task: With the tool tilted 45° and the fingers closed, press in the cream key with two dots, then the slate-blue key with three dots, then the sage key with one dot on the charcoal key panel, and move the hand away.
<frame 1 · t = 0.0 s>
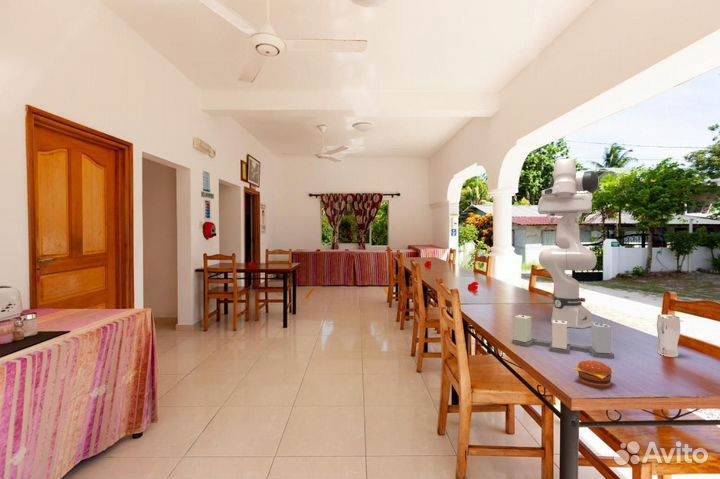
hand: (563, 222, 154), 52 cm above the table, tool tilted 20°, fingers open, 8 cm apart
key three dots: (601, 337, 141), point 7 cm above the table, slide at 0.0 cm
hamburger: (593, 383, 117), on the table
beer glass: (668, 355, 141), on the table
key two dots: (559, 333, 147), point 7 cm above the table, slide at 0.0 cm
key one dot: (522, 327, 156), point 7 cm above the table, slide at 0.0 cm
key board: (559, 350, 147), on the table
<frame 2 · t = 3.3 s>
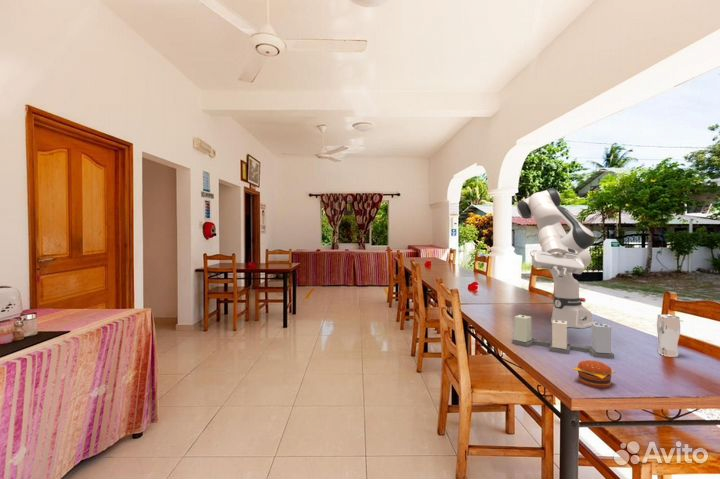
hand: (561, 276, 148), 30 cm above the table, tool tilted 50°, fingers closed
nothing on the table moved.
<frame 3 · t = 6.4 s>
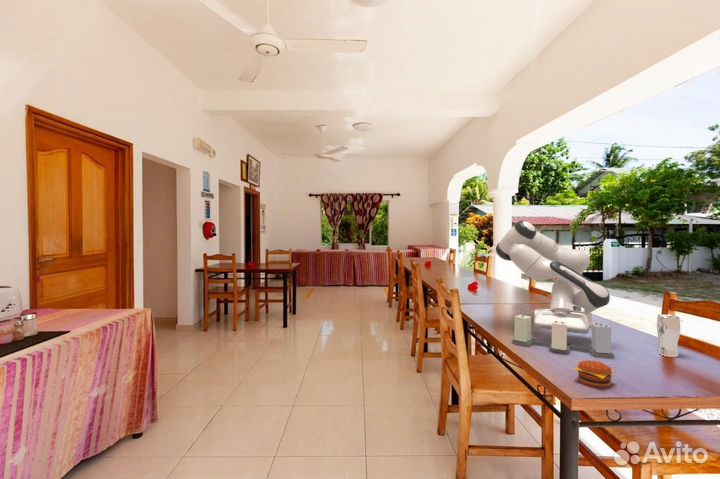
hand: (559, 339, 148), 4 cm above the table, tool tilted 45°, fingers closed, pressing on key two dots
key two dots: (559, 334, 146), point 7 cm above the table, slide at 1.5 cm, touching gripper
everything else where it was.
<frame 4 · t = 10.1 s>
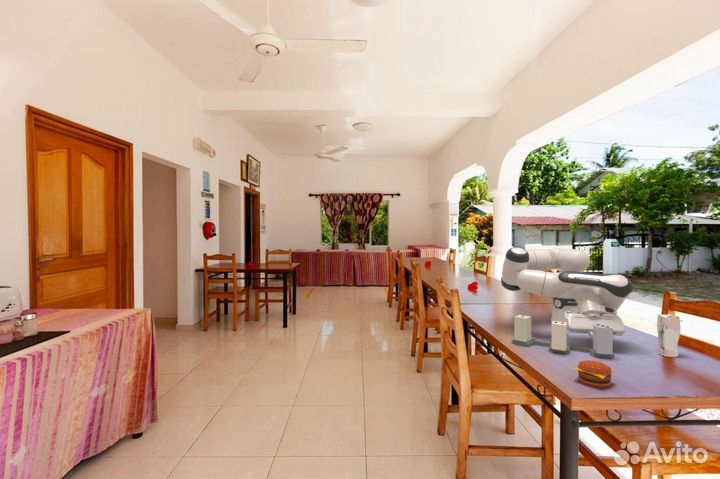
hand: (599, 342, 143), 4 cm above the table, tool tilted 45°, fingers closed, pressing on key three dots
key three dots: (602, 338, 140), point 7 cm above the table, slide at 1.5 cm, touching gripper
key two dots: (559, 335, 145), point 7 cm above the table, slide at 2.4 cm
everything else where it was.
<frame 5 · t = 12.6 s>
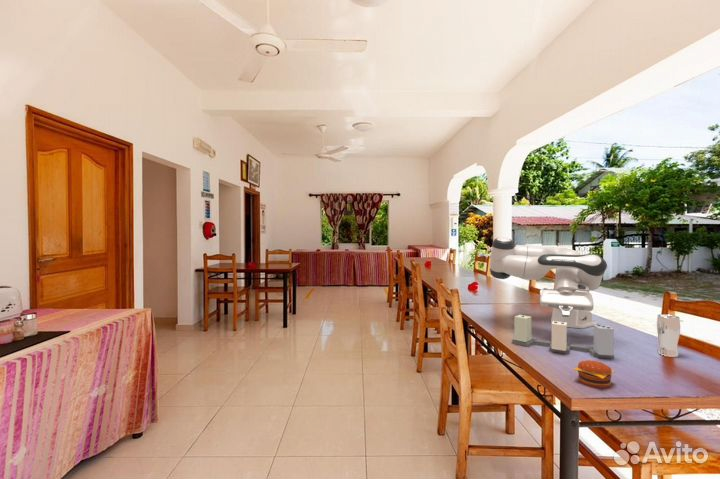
hand: (565, 316, 154), 12 cm above the table, tool tilted 45°, fingers closed
key three dots: (603, 339, 139), point 7 cm above the table, slide at 2.5 cm
everything else where it was.
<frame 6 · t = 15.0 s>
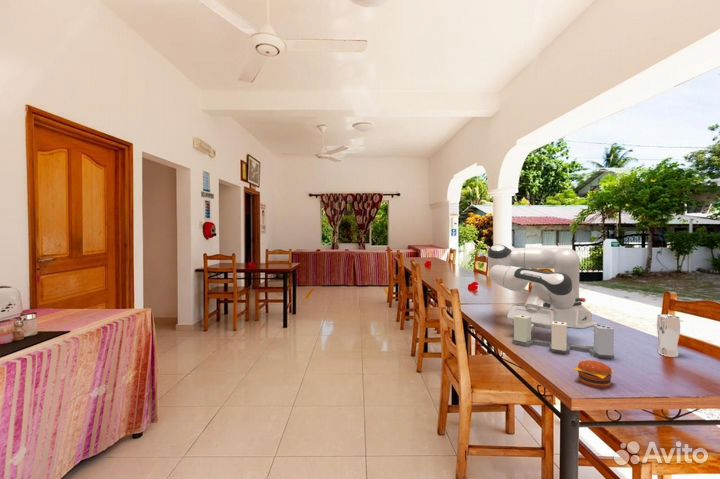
hand: (525, 332, 158), 4 cm above the table, tool tilted 45°, fingers closed, pressing on key one dot
key one dot: (522, 327, 156), point 7 cm above the table, slide at 0.3 cm, touching gripper
everything else where it was.
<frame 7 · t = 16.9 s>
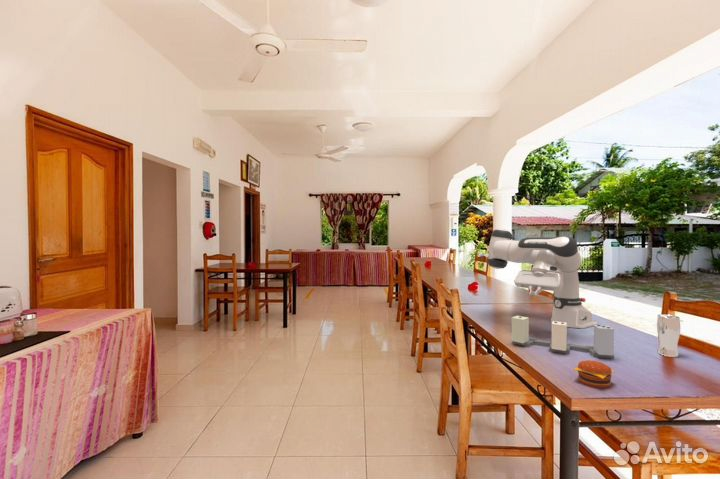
hand: (532, 295, 162), 20 cm above the table, tool tilted 45°, fingers closed
key one dot: (520, 328, 155), point 7 cm above the table, slide at 2.4 cm
everything else where it was.
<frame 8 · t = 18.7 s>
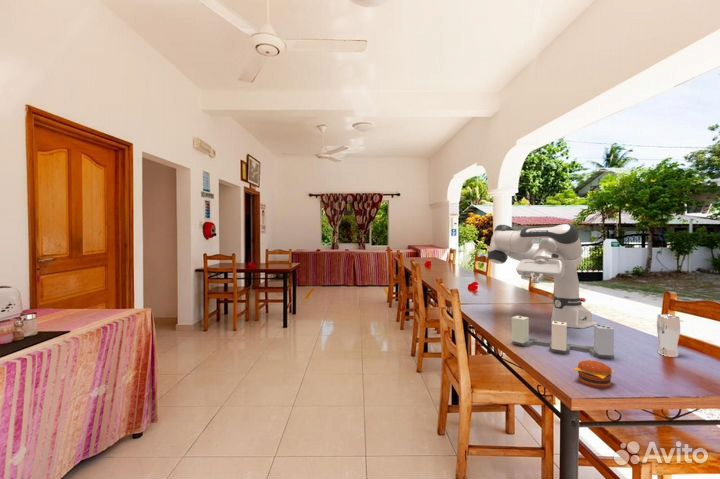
hand: (534, 282, 164), 25 cm above the table, tool tilted 45°, fingers closed
nothing on the table moved.
at the end: key two dots slide at 2.4 cm; key three dots slide at 2.5 cm; key one dot slide at 2.4 cm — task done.
